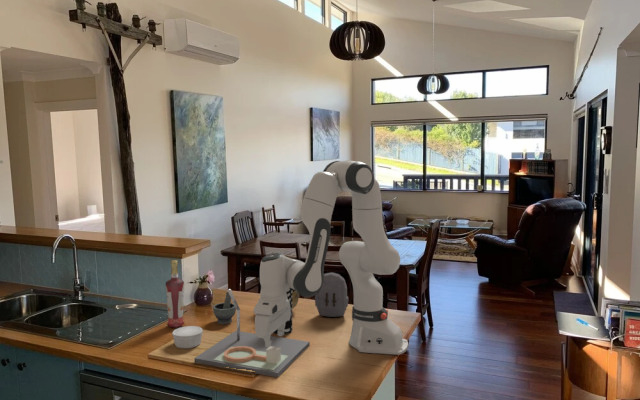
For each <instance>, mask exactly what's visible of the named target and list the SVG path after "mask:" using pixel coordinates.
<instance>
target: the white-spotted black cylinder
mask: <svg viewBox="0 0 640 400" xmlns="http://www.w3.org/2000/svg"><path fill="white" fill-rule="evenodd" d="M286 294H287V298H288V300H289V302H290V309H291V317H290V319H289V320H288V321H286V322H285V328H284V335H283V336H286V335H290V334H291V333H293V309H292V288H288V289H287V291H286ZM278 330H279V328H278V329H277V330H276V331H274V332H273V333H272V334H274V335H278Z"/></svg>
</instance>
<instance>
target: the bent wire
mask: <svg viewBox="0 0 640 400" xmlns="http://www.w3.org/2000/svg"><path fill="white" fill-rule="evenodd" d="M227 292H228V293H229V295H230V297H231V302H232V303H233V304H234V305H235V307H236V331H237V340H238V341H239V340H240V331H241V308H240V307H239V304H238V302H237V300H236V297H235V296H234V294H232V293H233V291H232V289H231V288H228V289H227Z"/></svg>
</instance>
